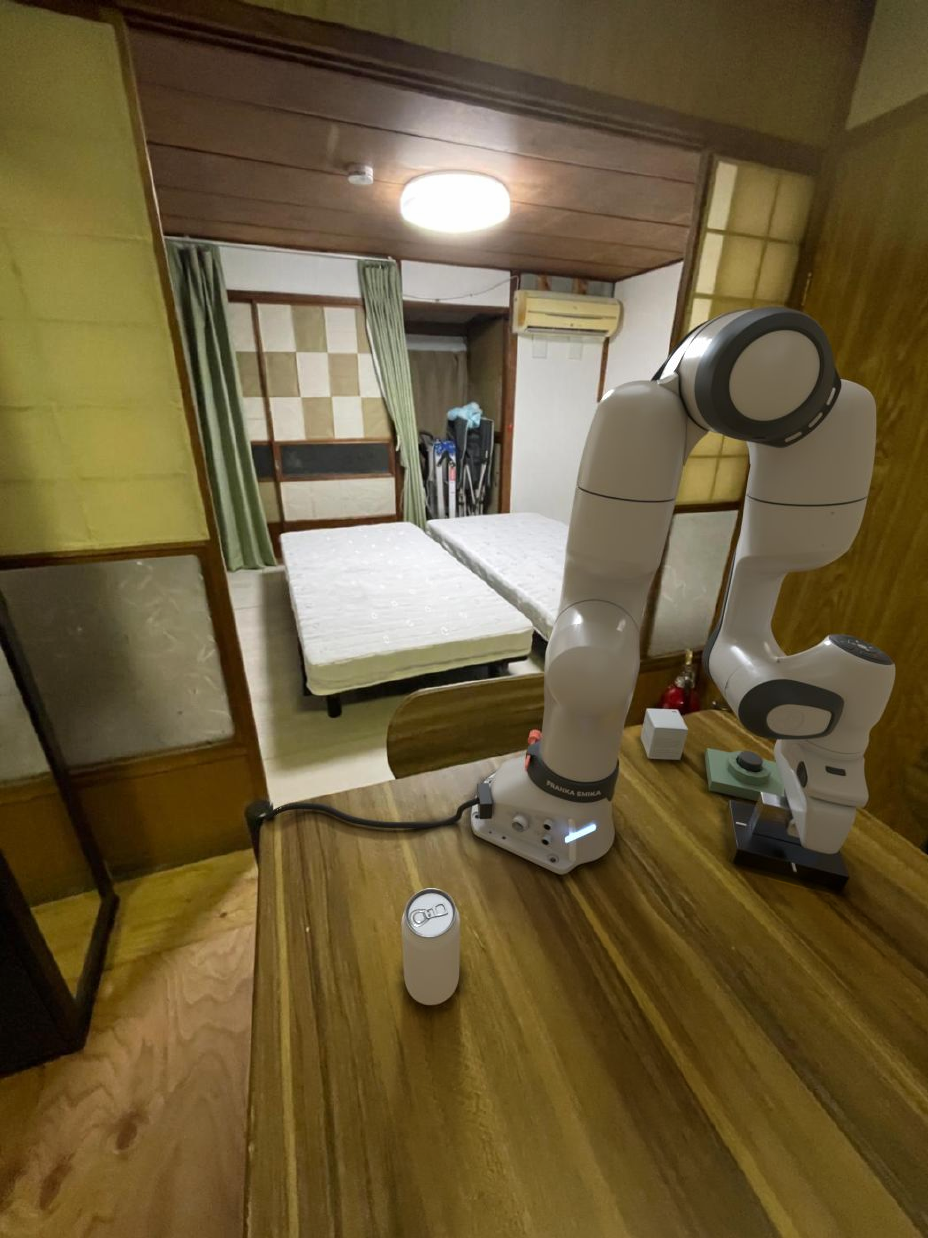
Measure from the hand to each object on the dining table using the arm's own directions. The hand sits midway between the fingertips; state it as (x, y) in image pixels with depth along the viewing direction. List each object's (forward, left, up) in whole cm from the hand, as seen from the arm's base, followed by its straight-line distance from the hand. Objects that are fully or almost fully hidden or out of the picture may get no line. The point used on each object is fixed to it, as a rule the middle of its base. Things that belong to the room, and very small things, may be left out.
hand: (789, 822), depth 75 cm
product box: (-17, +18, -6) cm, 25 cm away
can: (-43, -34, -6) cm, 55 cm away
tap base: (0, 0, -6) cm, 6 cm away
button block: (-3, +14, -6) cm, 15 cm away
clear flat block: (0, 0, -3) cm, 3 cm away
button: (-3, +14, -2) cm, 14 cm away
